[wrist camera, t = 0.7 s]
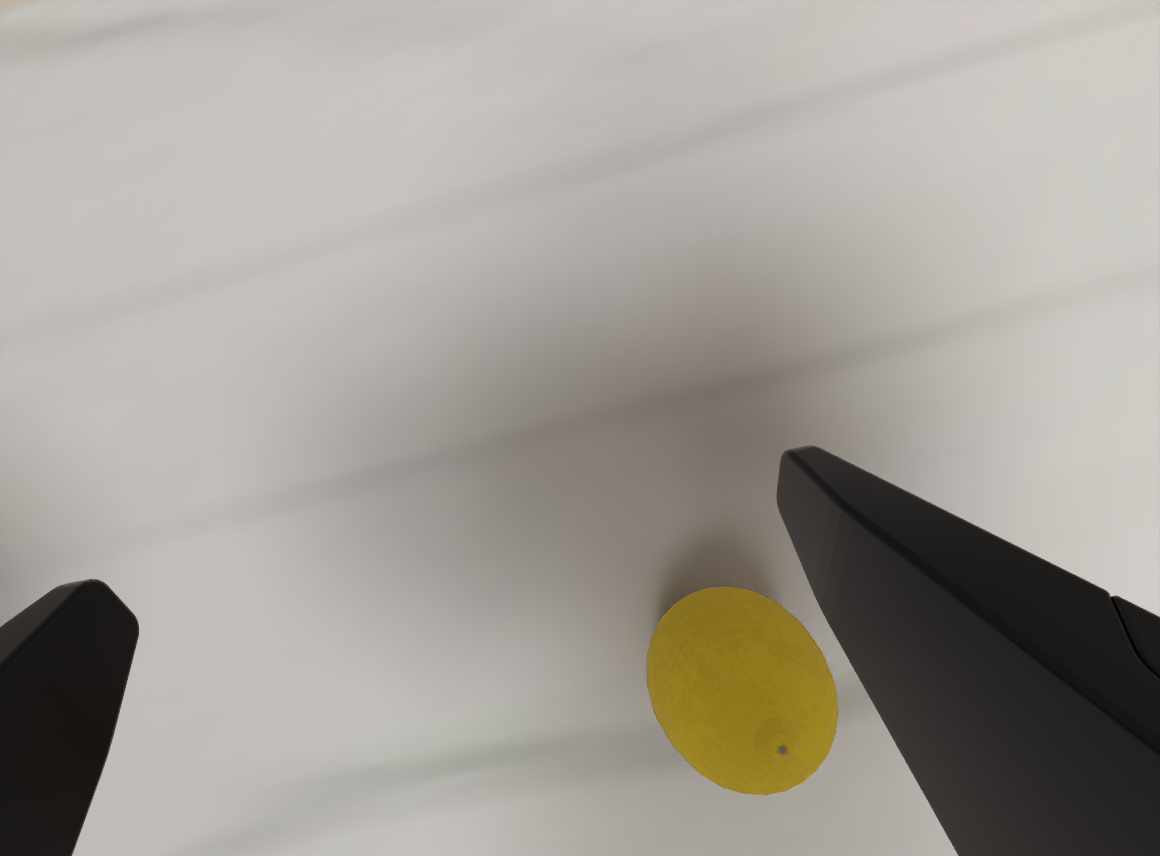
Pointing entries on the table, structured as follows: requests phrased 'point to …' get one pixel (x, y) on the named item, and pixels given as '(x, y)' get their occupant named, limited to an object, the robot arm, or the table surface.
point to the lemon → (741, 690)
